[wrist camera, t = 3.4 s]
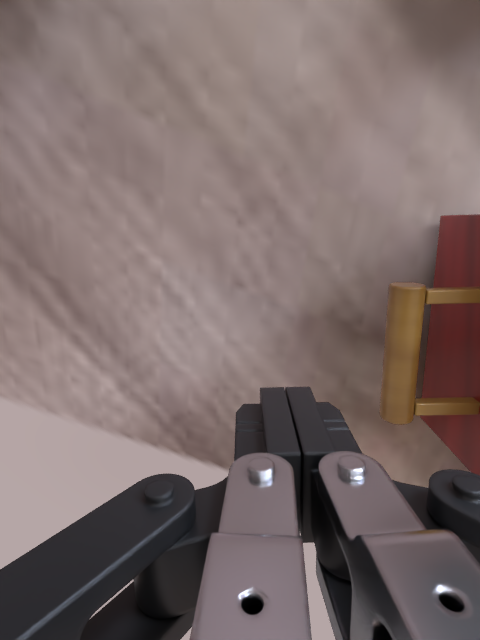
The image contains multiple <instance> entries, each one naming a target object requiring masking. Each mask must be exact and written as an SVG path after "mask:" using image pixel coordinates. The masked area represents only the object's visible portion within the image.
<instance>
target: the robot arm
mask: <svg viewBox="0 0 480 640" xmlns="http://www.w3.org/2000/svg"><path fill="white" fill-rule="evenodd" d="M300 533H301V536H300ZM307 542H314V543H315V547H316V552H317V554H316V574H317V578H318V581H319V585H320V588H321V592H322V595H323V599H324V602H325V605H326V608H327V612H328V615H329V618H330V622H331V626H332V629H333V632H334V636H335V639H336V640H480V475H477V474H474V473H471V472H467V471H462V470H452V469H449V470H441V471H438V472H436V473H434V474H433V475H432V476H431V477H430V479H429V487H428V488H425V487H420V486H415V485H410V484H404V483H400V482H397V481H394V480H391V478H390V477H389V475H388V474H387V472H386V471H385V470H384V468H383V467H382V466H381V464H379V463H378V462H377V461H376V460H374V459H373V458H371V457H369V456H367V455H364V454H362V452H361V450H360V449H359V447H358V445H357V443H356V441H355V439H354V437H353V435H352V433H351V431H350V430H349V427H348V426H347V424H346V422H345V420H344V418H343V416H342V414H341V412H340V410H338V409H337V408H336V407H334V406H333V405H331V404H330V403H329V402H317V403H316V401H315V398H314V396H313V393H312V391H311V389H310V387H285V390H284V387H277V388H260V404H243V405H242V406H241V407H240V409H239V410H238V411H237V412H236V429H235V456H234V462H233V463H232V465H231V466H230V469H229V474H228V477H227V478H225V479H224V480H223V481H221V482H219V483H217V484H215V485H213V486H209V487H206V488H202V489H198V490H194V486H193V484H192V483H191V482H190V481H189V480H188V479H186V478H185V477H182V476H179V475H175V474H158V475H154V476H150V477H147V478H145V479H143V480H141V481H139V482H137V483H136V484H134V485H133V486H131V487H130V488H128V489H126V490H125V491H123V492H122V493H120V494H119V495H117V496H115V497H114V498H112V499H111V500H109V501H108V502H106V503H104V504H103V505H101V506H100V507H98V508H96V509H95V510H93V511H92V512H90V513H89V514H87V515H86V516H84V517H82V518H81V519H79V520H78V521H76V522H75V523H73V524H71V525H70V526H68V527H67V528H65V529H63V530H62V531H60V532H59V533H57V534H56V535H54V536H52V537H51V538H49V539H48V540H46V541H45V542H43V543H41V544H40V545H38V546H37V547H35V548H34V549H32V550H31V551H29V552H27V553H26V554H24V555H23V556H21V557H19V558H18V559H16V560H15V561H13V562H11V563H10V564H8V565H7V566H5V567H4V568H2V569H0V640H180V639H181V638H182V637H183V636H184V635H185V634H186V633H187V631H188V630H189V629H190V628H191V627H192V630H191V636H190V640H312V638H311V627H310V616H309V606H308V595H307V584H306V574H305V563H304V552H303V543H307ZM132 579H134V582H132V583H131V584H130V585H129V586H128V587H127V588H125V589H124V590H123V591H122V592H121V593H120V594H119V595H118V596H116V597H115V598H114V599H113V600H112V601H110V602H109V603H108V604H107V605H106V606H105V607H103V608H102V609H101V610H100V611H99V612H98V613H97V614H95V615H94V616H93V617H92V618H91V619H90V617H91V616H92V615H93V614H94V613H95V611H97V610H98V609H99V608H100V607H101V606H102V605H103V604H104V603H106V602H107V601H108V600H109V599H110V598H112V597H113V596H114V595H115V594H116V593H117V592H118V591H120V590H121V589H122V588H123V587H124V586H125V585H127V584H128V583H129V582H130V581H131V580H132ZM89 619H90V620H89Z"/></svg>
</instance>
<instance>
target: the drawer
mask: <svg viewBox="0 0 480 640" xmlns="http://www.w3.org/2000/svg"><path fill="white" fill-rule="evenodd" d="M425 304H431V314H430V323H429V333H428V342H427V352H426V361H425V371H424V381H423V390H422V398H415V395H416V385H417V375H418V365H419V355H420V345H421V335H422V325H423V315H424V305H425ZM379 414H380V417H381V418H382V419H383V420H385V421H387V422H389V423H393V424H399V425H404V424H409V423H411V422H412V420H413V415H416V416H420V417H421V419H422V420H423V421H424V422H425V423H426V424H427V425H428V426H429V427H430V428H431V429H432V430H433V432H434V433H435V434H436V435H437V436H438V437H439V438H440V439H441V440H442V441H443V442H444V443H445V445H446V446H447V447H448V448H449V449H450V450H451V451H452V452H453V453H454V454H455V455H456V456H457V458H458V459H459V460H460V461H461V462H462V463H463V464H464V465H465V466H466V467H467V468H468V469H469V471H470V472H471V473H474V474H477V475H480V214H479V215H444V216H441V218H440V227H439V237H438V247H437V256H436V266H435V275H434V285H433V288H426V286H425V285H423V284H420V283H412V282H396V283H391V284H390V285H389V292H388V305H387V318H386V332H385V345H384V358H383V372H382V385H381V398H380V412H379Z"/></svg>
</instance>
